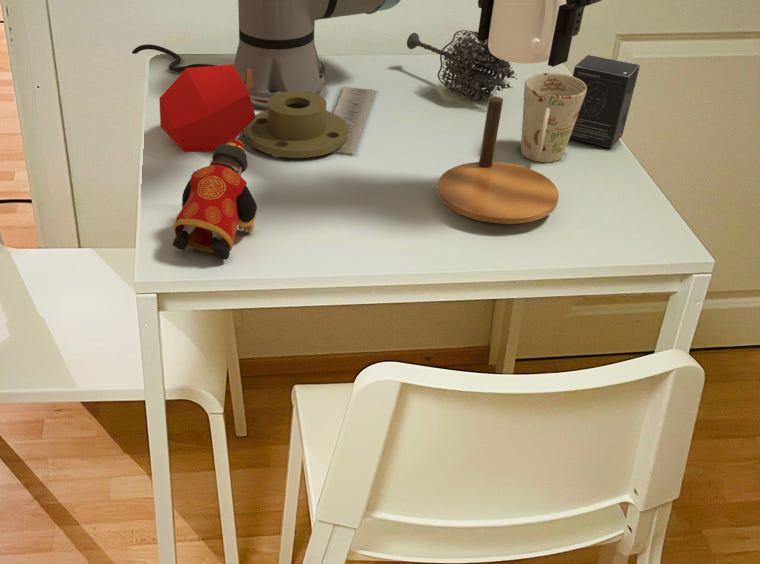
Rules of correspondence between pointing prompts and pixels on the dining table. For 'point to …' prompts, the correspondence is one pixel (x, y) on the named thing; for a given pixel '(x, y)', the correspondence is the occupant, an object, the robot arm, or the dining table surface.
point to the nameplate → (352, 115)
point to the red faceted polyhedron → (206, 107)
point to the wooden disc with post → (497, 184)
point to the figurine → (216, 203)
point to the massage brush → (469, 66)
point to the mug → (549, 114)
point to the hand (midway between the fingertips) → (521, 50)
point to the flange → (297, 126)
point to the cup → (523, 29)
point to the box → (604, 99)
